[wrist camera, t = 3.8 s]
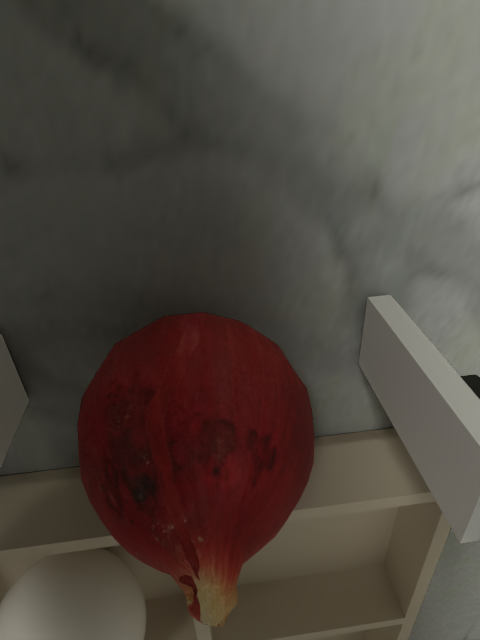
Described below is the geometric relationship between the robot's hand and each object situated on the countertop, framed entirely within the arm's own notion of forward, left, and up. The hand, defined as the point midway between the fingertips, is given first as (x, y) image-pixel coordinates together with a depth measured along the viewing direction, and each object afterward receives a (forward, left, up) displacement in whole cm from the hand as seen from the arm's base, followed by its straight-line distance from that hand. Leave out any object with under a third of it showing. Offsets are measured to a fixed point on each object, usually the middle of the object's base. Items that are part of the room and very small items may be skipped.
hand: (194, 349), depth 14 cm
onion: (0, 0, 0) cm, 0 cm away
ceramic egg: (-6, -10, 0) cm, 12 cm away
